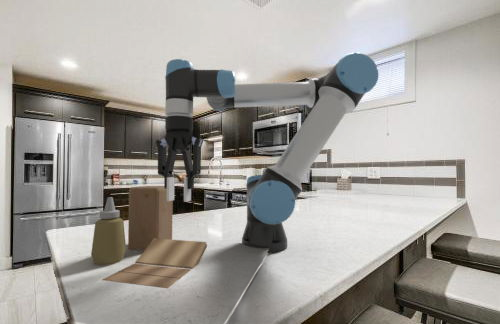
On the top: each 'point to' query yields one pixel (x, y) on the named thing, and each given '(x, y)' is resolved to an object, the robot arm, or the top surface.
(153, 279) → the floorboard
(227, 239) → the top surface
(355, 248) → the top surface
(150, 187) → the wooden block
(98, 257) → the squeeze bottle
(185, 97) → the robot arm
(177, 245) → the plank
